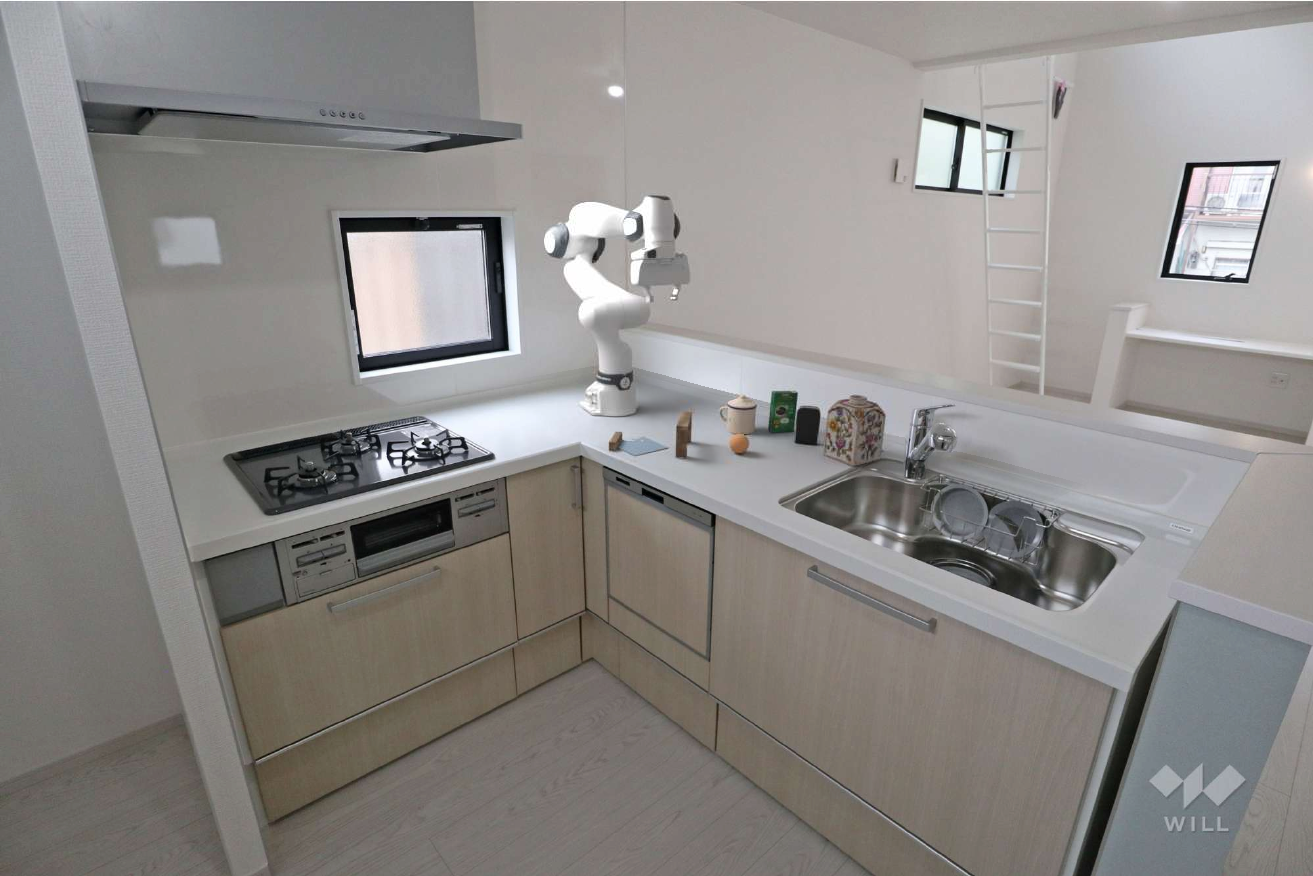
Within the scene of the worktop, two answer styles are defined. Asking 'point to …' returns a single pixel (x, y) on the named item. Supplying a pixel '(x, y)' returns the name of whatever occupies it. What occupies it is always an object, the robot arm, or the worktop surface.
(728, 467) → the worktop surface
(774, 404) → the coffee box
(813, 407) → the battery charger
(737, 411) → the teacup with lid
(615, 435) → the stopper
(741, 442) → the ball
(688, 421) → the bridge
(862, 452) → the decorative jar
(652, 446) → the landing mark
